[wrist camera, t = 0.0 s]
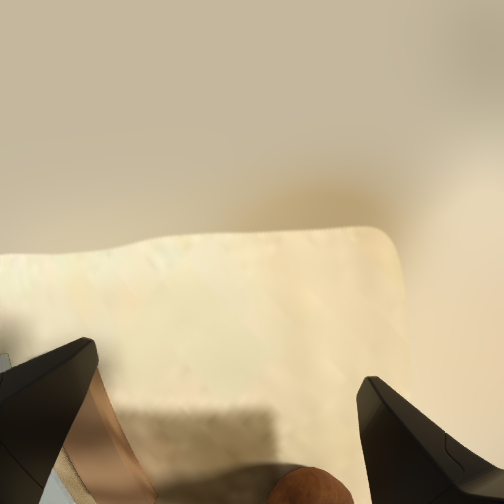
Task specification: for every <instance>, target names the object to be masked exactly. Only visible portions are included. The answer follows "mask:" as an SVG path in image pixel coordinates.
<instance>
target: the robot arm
mask: <svg viewBox="0 0 504 504" xmlns="http://www.w3.org/2000/svg"><path fill="white" fill-rule="evenodd" d="M98 361H99V359H98V354H97V349H96V345H95V342H94V340H92V339H89V338H86V337H82V338H80V339H77V340H75V341H73V342H70V343H68V344H66V345H64V346H61V347H59V348H57V349H54V350H52V351H50V352H48V353H45V354H43V355H41V356H38V357H36V358H34V359H31V360H29V361H27V362H25V363H22V364H20V365H18V366H15V367H13V368H11V369H8V370H6V371H5V372H1V373H0V504H39V502H40V500H41V497H42V494H43V492H44V489H45V486H46V484H47V481H48V479H49V476H50V474H51V471H52V469H53V466H54V464H55V462H56V459H57V457H58V455H59V452H60V450H61V448H62V446H63V443H64V441H65V439H66V437H67V435H68V433H69V430H70V428H71V426H72V424H73V422H74V420H75V418H76V416H77V414H78V412H79V410H80V408H81V406H82V404H83V401H84V399H85V397H86V395H87V392H88V389H89V386H90V384H91V381H92V379H93V376H94V373H95V371H96V368H97V366H98ZM356 400H357V410H358V421H359V432H360V439H361V445H362V450H363V455H364V460H365V465H366V470H367V476H368V482H369V487H370V494H371V500H372V504H504V470H503V469H500V468H497V467H495V466H494V465H492V464H491V463H489V462H487V461H486V460H484V459H483V458H481V457H479V456H478V455H476V454H474V453H473V452H471V451H470V450H469V449H467V448H466V447H464V446H463V445H462V444H460V443H459V442H458V441H456V440H455V439H453V438H452V437H451V436H450V435H449V434H447V433H445V431H444V430H442V429H441V428H440V427H439V426H437V425H436V424H435V423H434V422H432V421H431V420H430V419H429V418H427V417H426V416H425V415H424V414H422V413H421V412H420V411H419V410H418V409H417V408H415V407H414V406H413V405H412V404H410V403H409V402H408V401H407V400H406V399H404V398H403V397H402V396H401V395H400V394H398V393H397V392H396V391H395V390H393V389H392V388H391V387H390V386H389V385H387V384H386V383H385V382H384V381H383V380H381V379H380V378H379V377H377V376H367V377H366V378H365V379H364V380H363V383H362V385H361V387H360V389H359V391H358V393H357V397H356Z"/></svg>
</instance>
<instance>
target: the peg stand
mask: <svg viewBox="0 0 504 504" xmlns="http://www.w3.org/2000/svg"><path fill="white" fill-rule="evenodd" d="M8 369H11V364H10V361H9V357H8V354H1V355H0V373H1V372H5V371H6V370H8ZM39 504H76V503H75V502H74V500H73V499H72V497H71V496H70V494H69V493H68V491H67V489H66V488H65V486H64V485H63V483H62V481H61V480H60V478H59V476H58V475H57V473H56V471H55V469H54V468H53V469H52V471H51V474H50V476H49V479H48V481H47V484H46V486H45V489H44V492H43V494H42V497H41V500H40V502H39Z"/></svg>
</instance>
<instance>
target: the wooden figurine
mask: <svg viewBox="0 0 504 504" xmlns="http://www.w3.org/2000/svg"><path fill="white" fill-rule="evenodd" d="M266 504H354V501H353V498H352V496H351V493H350V492H349V491H348V489H347V488H346V487H345V486H344V485H343V484H342V483H341V482H340V481H339V480H338V479H336V478H335V477H333V476H332V475H331V474H329V473H328V472H326V471H324V470H321V469H318V468H315V467H303V468H300V469H297V470H294V471H292V472H290V473H288V474H287V475H285V476H284V477H283V478H282V479H280V480H279V481H278V482H277V484H276V486H275V487H274V489H273V490H272V491H271V492H270V494H269V496H268V499H267V502H266Z"/></svg>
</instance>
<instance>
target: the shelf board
mask: <svg viewBox="0 0 504 504" xmlns="http://www.w3.org/2000/svg"><path fill="white" fill-rule="evenodd" d="M63 446H64V448H65V450H66V452H67V454H68V456H69V458H70V460H71V462H72V463H73V465H74V467H75V469H76V471H77V472H78V474H79V476H80V478H81V479H82V481H83V483H84V484H85V486H86V488H87V489H88V491H89V492H90V494H91V496H92V497H93V499H94V500H95V502H96V503H97V504H155V502H156V500H157V498H158V495H157V493H156V491H155V490H154V488H153V487H152V485H151V483H150V482H149V480H148V478H147V476H146V475H145V473H144V471H143V469H142V468H141V466H140V464H139V462H138V460H137V458H136V457H135V455H134V453H133V451H132V449H131V447H130V445H129V443H128V441H127V439H126V437H125V435H124V432H123V430H122V428H121V426H120V424H119V422H118V419H117V417H116V415H115V412H114V410H113V408H112V405H111V403H110V400H109V398H108V395H107V393H106V390H105V388H104V385H103V382H102V380H101V377H100V374H99V371H98V368H96V371H95V373H94V376H93V379H92V381H91V384H90V386H89V389H88V392H87V395H86V397H85V399H84V401H83V404H82V406H81V408H80V410H79V412H78V414H77V416H76V418H75V420H74V422H73V424H72V426H71V428H70V430H69V433H68V435H67V437H66V439H65V441H64V443H63Z"/></svg>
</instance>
